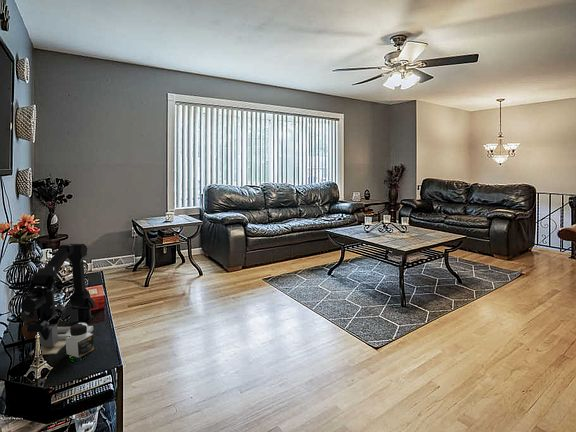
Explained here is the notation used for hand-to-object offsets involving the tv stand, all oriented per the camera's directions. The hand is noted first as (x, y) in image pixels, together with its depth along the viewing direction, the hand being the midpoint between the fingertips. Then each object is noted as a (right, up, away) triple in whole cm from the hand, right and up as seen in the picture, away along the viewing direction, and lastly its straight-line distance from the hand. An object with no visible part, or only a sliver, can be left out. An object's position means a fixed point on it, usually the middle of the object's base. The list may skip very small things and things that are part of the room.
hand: (48, 337), depth 144 cm
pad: (0, -5, +1) cm, 5 cm away
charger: (0, -3, 0) cm, 3 cm away
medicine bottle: (+14, -6, -2) cm, 16 cm away
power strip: (+1, -3, +12) cm, 12 cm away
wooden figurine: (-14, -4, +9) cm, 17 cm away
